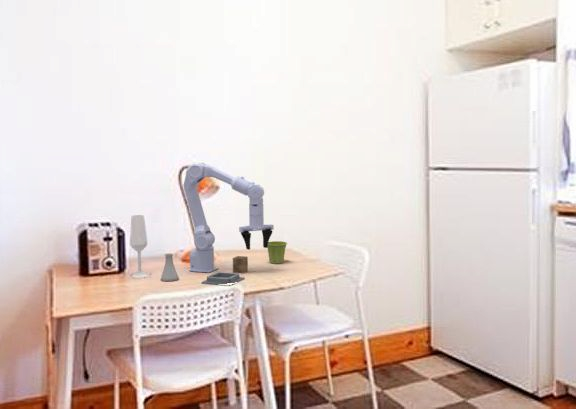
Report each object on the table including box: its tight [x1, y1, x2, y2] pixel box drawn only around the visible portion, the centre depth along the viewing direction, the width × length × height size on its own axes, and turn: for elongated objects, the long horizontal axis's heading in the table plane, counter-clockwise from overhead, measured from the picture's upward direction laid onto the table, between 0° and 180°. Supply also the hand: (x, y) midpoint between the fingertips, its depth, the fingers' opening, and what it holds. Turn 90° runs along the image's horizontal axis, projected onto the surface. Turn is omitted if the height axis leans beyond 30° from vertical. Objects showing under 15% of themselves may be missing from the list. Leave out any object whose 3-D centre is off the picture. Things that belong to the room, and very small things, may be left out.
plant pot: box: [266, 240, 288, 265], centre depth 248 cm, size 9×9×9 cm
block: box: [232, 255, 249, 274], centre depth 230 cm, size 4×4×6 cm
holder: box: [201, 271, 245, 286], centre depth 214 cm, size 12×12×2 cm
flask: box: [160, 252, 180, 282], centre depth 218 cm, size 7×7×10 cm
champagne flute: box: [129, 214, 149, 279], centre depth 224 cm, size 7×7×24 cm
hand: (256, 248), depth 231 cm, fingers open, 7 cm apart
